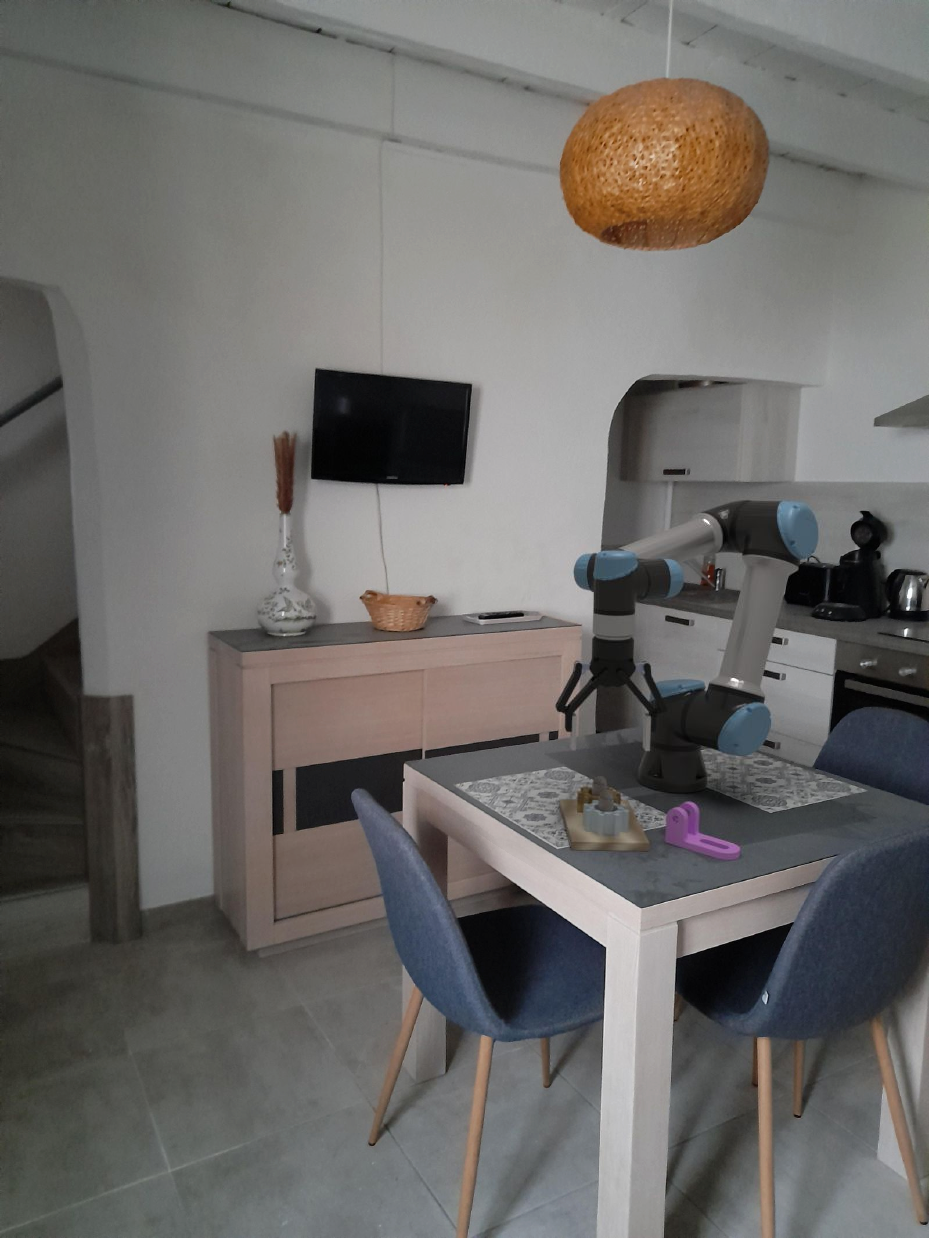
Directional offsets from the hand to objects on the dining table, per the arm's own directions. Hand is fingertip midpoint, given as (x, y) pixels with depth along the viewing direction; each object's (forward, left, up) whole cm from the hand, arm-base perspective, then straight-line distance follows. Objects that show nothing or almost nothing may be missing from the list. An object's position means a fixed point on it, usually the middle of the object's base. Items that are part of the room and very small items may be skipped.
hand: (609, 748), depth 164 cm
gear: (0, 0, -15) cm, 15 cm away
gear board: (0, -4, -17) cm, 17 cm away
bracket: (-17, +5, -17) cm, 25 cm away
